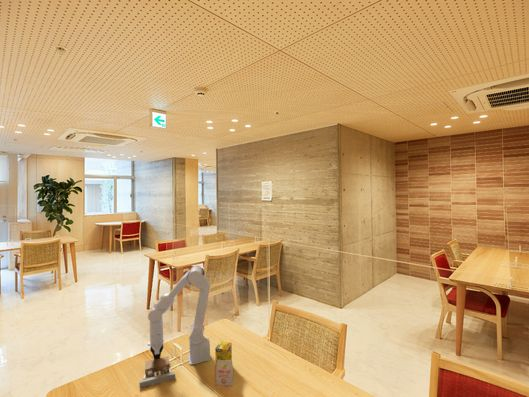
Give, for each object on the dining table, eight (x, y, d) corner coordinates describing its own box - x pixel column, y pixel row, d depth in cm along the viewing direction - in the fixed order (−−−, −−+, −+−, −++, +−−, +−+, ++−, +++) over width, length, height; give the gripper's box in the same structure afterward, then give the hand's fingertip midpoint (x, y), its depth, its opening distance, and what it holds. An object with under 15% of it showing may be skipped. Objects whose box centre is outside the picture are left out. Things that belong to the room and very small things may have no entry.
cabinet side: (174, 372, 122) (174, 367, 122) (175, 378, 118) (175, 373, 118) (140, 380, 117) (139, 375, 117) (139, 388, 113) (139, 382, 113)
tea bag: (217, 379, 118) (217, 356, 117) (233, 380, 117) (232, 357, 116) (215, 385, 114) (215, 362, 113) (231, 386, 113) (231, 363, 113)
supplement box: (228, 373, 121) (227, 349, 120) (215, 372, 122) (214, 348, 122) (232, 365, 127) (232, 342, 126) (220, 363, 128) (219, 340, 127)
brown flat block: (168, 361, 130) (168, 356, 130) (169, 373, 122) (169, 367, 122) (145, 366, 126) (145, 361, 126) (145, 379, 118) (144, 373, 118)
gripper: (147, 326, 133) (148, 353, 134) (146, 342, 120) (147, 372, 121) (162, 323, 136) (163, 350, 137) (164, 339, 123) (164, 368, 123)
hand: (157, 360), depth 129 cm, fingers closed
